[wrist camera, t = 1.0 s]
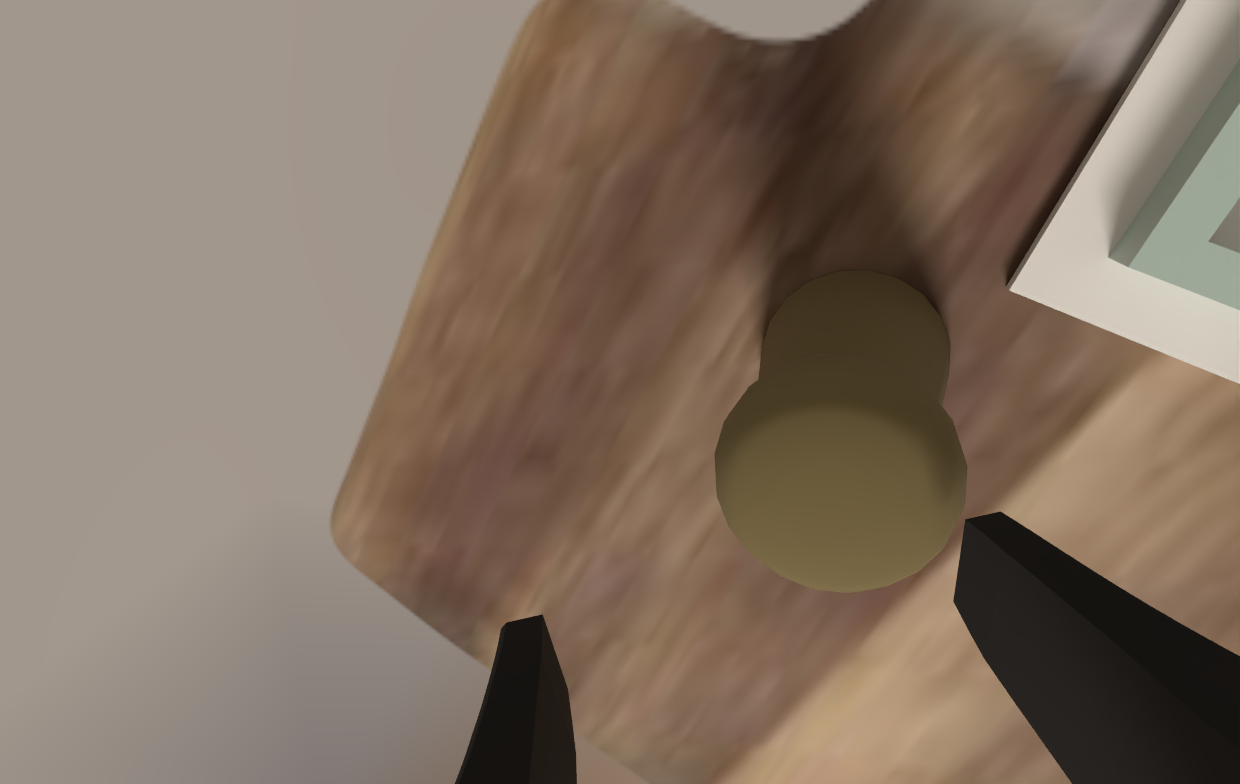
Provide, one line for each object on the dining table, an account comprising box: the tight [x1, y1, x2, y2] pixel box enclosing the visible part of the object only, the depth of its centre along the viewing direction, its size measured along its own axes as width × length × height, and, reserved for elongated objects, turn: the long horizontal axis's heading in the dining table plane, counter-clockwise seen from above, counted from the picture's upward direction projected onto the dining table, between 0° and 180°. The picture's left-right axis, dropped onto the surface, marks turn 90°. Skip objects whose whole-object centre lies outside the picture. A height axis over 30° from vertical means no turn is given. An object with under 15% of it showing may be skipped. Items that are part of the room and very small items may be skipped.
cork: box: [715, 270, 967, 593], centre depth 19 cm, size 6×6×11 cm
